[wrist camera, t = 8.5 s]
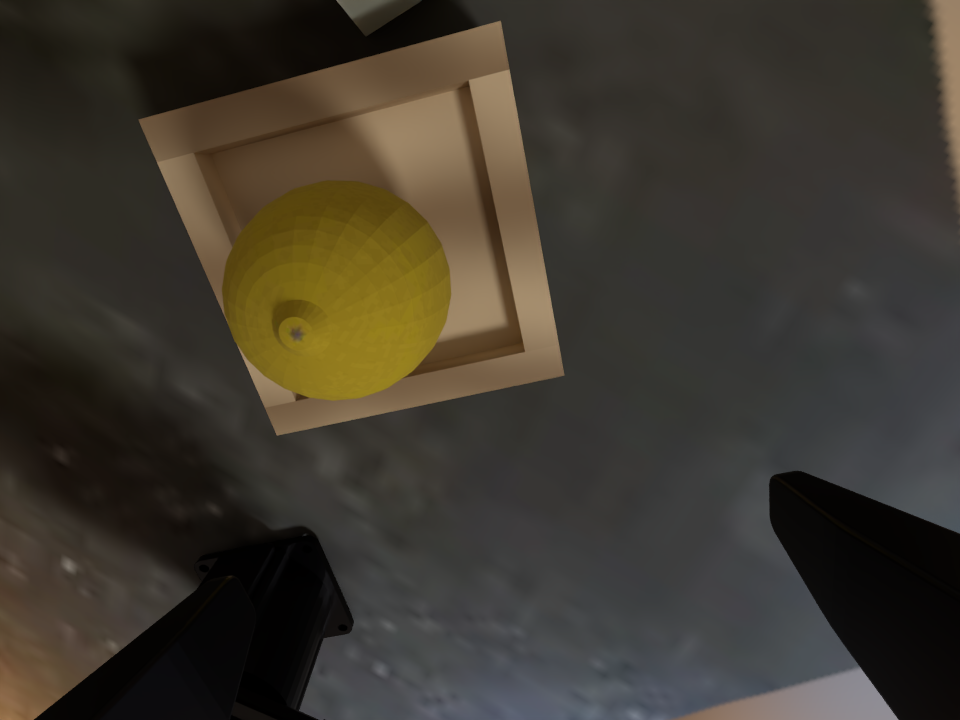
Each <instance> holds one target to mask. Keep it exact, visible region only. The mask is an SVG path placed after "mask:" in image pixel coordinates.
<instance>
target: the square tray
mask: <svg viewBox="0 0 960 720" xmlns="http://www.w3.org/2000/svg"><path fill="white" fill-rule="evenodd" d="M139 122H140V125H141V127H142V129H143V131H144V134H145V136H146V138H147V141H148V143H149V145H150V147H151V150H152V152H153V154H154V156H155V159H156V161H157V163H158V166H159V168H160V170H161V172H162V175H163V177H164V179H165V181H166V184H167V186H168V188H169V191H170V193H171V195H172V197H173V200H174V202H175V204H176V207H177V209H178V211H179V213H180V216H181V218H182V220H183V222H184V225H185V227H186V229H187V232H188V234H189V236H190V238H191V241H192V243H193V245H194V247H195V250H196V252H197V254H198V257H199V259H200V261H201V263H202V266H203V268H204V270H205V273H206V275H207V277H208V279H209V282H210V284H211V286H212V288H213V291H214V293H215V295H216V298H217V300H218V302H219V304H220V307H221V309H222V311H223V313H224V305H223V296H222V284H223V278H224V271H225V265H226V261H227V258H228V256H229V254H230V252H231V250H232V248H233V245H234V243H235V241H236V239H237V237H238V235H239V234H240V232H241V231H242V230H243V229H244V228H245V226H246V225H247V224H248V223H249V222H250V221H251V220H252V219H253V218H254V216H255V215H256V214H257V213H258V212H259V211H260V210H261V209H262V208H263V207H264V206H266V205H267V204H269V203H270V202H272V201H274V200H275V199H277V198H279V197H280V196H282V195H284V194H285V193H287V192H288V191H290V190H292V189H294V188H298V187H302V186H306V185H309V184H313V183H317V182H321V181H326V180H331V181H359V182H362V183H366V184H369V185H373V186H376V187H379V188H383V189H386V190H387V191H389V192H391V193H393V194H394V195H396V196H398V197H399V198H401V199H403V200H404V201H406V202H408V203H409V204H410V205H411V206H412V207H413V208H414V209H415V210H416V211H417V212H418V213H419V214H421V215H422V216H423V217H424V218H425V219H426V220H427V221H428V223H429V224H430V226H431V227H432V229H433V231H434V232H435V234H436V235H437V237H438V239H439V240H440V242H441V243H442V246H443V249H444V252H445V256H446V259H447V262H448V265H449V268H450V281H451V299H450V305H449V310H448V315H447V320H446V323H445V326H444V328H443V330H442V332H441V334H440V336H439V338H438V340H437V342H436V344H435V346H434V347H433V349H432V350H431V351H430V353H429V354H428V355H427V356H426V357H425V358H424V359H423V360H422V362H421V363H420V364H419V365H418V366H417V367H416V368H415V369H414V370H413V371H412V372H411V373H409V374H408V375H407V376H405V377H404V378H402V379H401V380H399V381H398V382H396V383H395V384H393V385H392V386H390V387H389V388H387V389H385V390H382V391H379V392H376V393H374V394H371V395H368V396H365V397H362V398H357V399H347V400H336V401H331V400H323V399H316V398H309V397H306V396H303V395H300V394H298V393H295V392H292V391H289V390H287V389H284V388H283V387H281V386H279V385H278V384H276V383H275V382H273V381H271V380H270V379H268V378H267V377H265V376H264V375H263V374H262V373H261V372H260V371H259V370H257V369H256V368H255V367H254V366H253V365H252V364H251V363H250V362H249V361H248V360H247V359H246V357H245V356H244V354H243V353H242V351H241V350H240V348H239V347H238V348H239V350H240V352H241V354H242V357H243V359H244V361H245V364H246V366H247V368H248V370H249V373H250V375H251V377H252V379H253V382H254V384H255V386H256V389H257V391H258V393H259V395H260V398H261V400H262V402H263V404H264V407H265V409H266V411H267V414H268V416H269V418H270V420H271V423H272V425H273V427H274V429H275V432H276V434H277V435H282V434H287V433H291V432H296V431H301V430H306V429H311V428H315V427H320V426H325V425H330V424H334V423H339V422H344V421H349V420H354V419H358V418H363V417H368V416H373V415H377V414H382V413H387V412H392V411H397V410H401V409H406V408H411V407H416V406H421V405H425V404H430V403H435V402H440V401H444V400H449V399H454V398H459V397H464V396H468V395H473V394H478V393H483V392H488V391H492V390H497V389H502V388H507V387H511V386H516V385H521V384H526V383H531V382H535V381H540V380H545V379H550V378H555V377H559V376H564V371H563V365H562V360H561V354H560V349H559V343H558V337H557V332H556V326H555V321H554V315H553V310H552V304H551V299H550V293H549V287H548V282H547V276H546V271H545V265H544V260H543V254H542V248H541V243H540V237H539V232H538V226H537V221H536V215H535V210H534V204H533V198H532V193H531V187H530V182H529V176H528V171H527V165H526V159H525V154H524V148H523V143H522V137H521V132H520V126H519V121H518V115H517V109H516V104H515V98H514V93H513V87H512V82H511V76H510V70H509V65H508V59H507V54H506V48H505V43H504V37H503V32H502V26H501V21H499V22H495V23H491V24H488V25H484V26H480V27H477V28H473V29H469V30H466V31H462V32H458V33H455V34H451V35H447V36H444V37H440V38H436V39H433V40H429V41H425V42H422V43H418V44H414V45H411V46H407V47H403V48H400V49H396V50H392V51H389V52H385V53H381V54H378V55H374V56H370V57H367V58H363V59H359V60H356V61H352V62H348V63H345V64H341V65H337V66H334V67H330V68H326V69H322V70H319V71H315V72H311V73H308V74H304V75H300V76H297V77H293V78H289V79H286V80H282V81H278V82H275V83H271V84H267V85H264V86H260V87H256V88H253V89H249V90H245V91H242V92H238V93H234V94H231V95H227V96H223V97H220V98H216V99H212V100H209V101H205V102H201V103H198V104H194V105H190V106H187V107H183V108H179V109H176V110H172V111H168V112H165V113H161V114H157V115H154V116H150V117H146V118H143V119H139ZM224 316H225V314H224ZM225 318H226V317H225ZM227 323H228V322H227Z"/></svg>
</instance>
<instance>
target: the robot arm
mask: <svg viewBox="0 0 960 720" xmlns="http://www.w3.org/2000/svg"><path fill="white" fill-rule="evenodd" d="M769 504H770V521H771V524H772V527H773V530H774V532H775V534H776V535H777V537H778V539H779V540H780V542H781V544H782V545H783V547H784V549H785V550H786V552H787V554H788V555H789V557H790V559H791V561H792V562H793V564H794V566H795V567H796V569H797V571H798V572H799V574H800V576H801V577H802V579H803V581H804V583H805V584H806V586H807V588H808V589H809V591H810V593H811V594H812V596H813V598H814V599H815V601H816V603H817V604H818V606H819V608H820V610H821V611H822V613H823V614H824V616H825V618H826V619H827V621H828V622H829V624H830V626H831V627H832V628H833V630H834V631H835V633H836V634H837V636H838V637H839V638H840V640H841V641H842V643H843V644H844V646H845V647H846V648H847V650H848V651H849V652H850V654H851V655H852V656H853V658H854V659H855V661H856V662H857V663H858V665H859V666H860V667H861V669H862V670H863V672H864V673H865V674H866V676H867V677H868V678H869V680H870V681H871V682H872V684H873V685H874V687H875V688H876V689H877V691H878V692H879V693H880V695H881V696H882V697H883V699H884V700H885V702H886V703H887V704H888V705H889V707H890V709H891V710H892V711H893V713H894V714H895V715H896V717H897V718H898V719H899V720H960V534H959V533H957V532H954V531H952V530H949V529H947V528H944V527H942V526H939V525H937V524H934V523H932V522H929V521H926V520H924V519H921V518H919V517H916V516H914V515H911V514H909V513H906V512H904V511H901V510H899V509H896V508H894V507H891V506H888V505H886V504H883V503H881V502H878V501H876V500H873V499H871V498H868V497H866V496H863V495H861V494H858V493H855V492H853V491H850V490H848V489H845V488H843V487H840V486H838V485H835V484H833V483H830V482H828V481H825V480H823V479H820V478H817V477H815V476H812V475H810V474H807V473H805V472H802V471H791V472H786V473H781V474H776V475H774V476H772V477H771V479H770V483H769ZM305 545H308V546H310V547H306V546H305ZM194 569H195V571H196V573H197V575H198V576H199V578H200V580H201V581H202V582H201V584H200V585H199V587H198V588H197V590H196V591H194V592H193V593H192V594H191V595H189V596H188V597H187V598H186V599H184V600H183V601H182V602H181V603H179V604H178V605H177V606H176V607H174V608H173V609H172V610H171V611H169V612H168V613H167V614H166V615H164V616H163V617H162V618H161V619H159V620H158V621H157V622H156V623H154V624H153V625H152V626H151V627H149V628H148V629H147V630H146V631H144V632H143V633H142V634H141V635H139V636H138V637H137V638H136V639H134V640H133V641H132V642H131V643H129V644H128V645H127V646H126V647H124V648H123V649H122V650H121V651H119V652H118V653H117V654H116V655H114V656H113V657H112V658H110V659H109V660H108V661H107V662H105V663H104V664H103V665H102V666H100V667H99V668H98V669H97V670H95V671H94V672H93V673H92V674H90V675H89V676H88V677H87V678H85V679H84V680H83V681H82V682H80V683H79V684H78V685H77V686H75V687H74V688H73V689H72V690H70V691H69V692H68V693H67V694H65V695H64V696H63V697H62V698H60V699H59V700H58V701H57V702H55V703H54V704H53V705H52V706H50V707H49V708H48V709H47V710H45V711H44V712H43V713H42V714H40V715H39V716H38V717H37V718H35V719H34V720H318V719H316V718H314V717H312V716H309V715H307V714H305V713H303V712H300V711H299V709H300V706H301V703H302V700H303V697H304V694H305V691H306V688H307V685H308V683H309V680H310V677H311V674H312V671H313V668H314V665H315V662H316V659H317V656H318V653H319V650H320V647H321V644H322V641H323V638H327V637H333V636H339V635H344V634H348V633H350V632H351V630H352V627H353V624H354V620H353V618H352V615H351V613H350V611H349V609H348V606H347V604H346V602H345V600H344V597H343V595H342V593H341V591H340V588H339V586H338V584H337V582H336V579H335V577H334V575H333V573H332V570H331V568H330V566H329V564H328V561H327V559H326V557H325V555H324V552H323V550H322V548H321V546H320V543H319V541H318V540H317V539H316V538H315V537H312V536H302V537H297V538H292V539H287V540H281V541H276V542H271V543H264V544H259V545H254V546H248V547H243V548H238V549H233V550H227V551H223V552H218V553H213V554H208V555H203V556H201V557H200V558H199V559H198V561H197V562H196V563H195V565H194ZM324 720H325V719H324Z"/></svg>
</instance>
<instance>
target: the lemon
mask: <svg viewBox="0 0 960 720" xmlns="http://www.w3.org/2000/svg"><path fill="white" fill-rule="evenodd" d="M222 296H223V305H224V314H225V317H226V320H227V322H228V325H229V328H230V330H231V333H232V336H233V338H234V341H235V342H236V344H237V345H238V347H239V348H240V350H241V351H242V353H243V354H244V356H245V357H246V359H247V360H248V361H249V362H250V363H251V364H252V365H253V366H254V367H255V368H256V369H257V370H259V371H260V372H261V373H262V374H263V375H264V376H265V377H267V378H268V379H270V380H271V381H273V382H275V383H276V384H278V385H279V386H281V387H283V388H284V389H287V390H289V391H292V392H295V393H298V394H300V395H303V396H306V397H309V398H316V399H323V400H331V401H336V400H347V399H357V398H362V397H365V396H368V395H371V394H374V393H376V392H379V391H382V390H385V389H387V388H389V387H390V386H392V385H393V384H395V383H396V382H398V381H399V380H401V379H402V378H404V377H405V376H407V375H408V374H409V373H411V372H412V371H413V370H414V369H415V368H416V367H417V366H418V365H419V364H420V363H421V362H422V360H423V359H424V358H425V357H426V356H427V355H428V354H429V353H430V351H431V350H432V349H433V347H434V346H435V344H436V342H437V340H438V338H439V336H440V334H441V332H442V330H443V328H444V326H445V323H446V320H447V315H448V310H449V305H450V299H451V281H450V268H449V265H448V262H447V259H446V256H445V252H444V249H443V246H442V243H441V242H440V240H439V239H438V237H437V235H436V234H435V232H434V231H433V229H432V227H431V226H430V224H429V223H428V221H427V220H426V219H425V218H424V217H423V216H422V215H421V214H419V213H418V212H417V211H416V210H415V209H414V208H413V207H412V206H411V205H410V204H409V203H408V202H406V201H404V200H403V199H401V198H399V197H398V196H396V195H394V194H393V193H391V192H389V191H387V190H386V189H383V188H379V187H376V186H373V185H369V184H366V183H362V182H359V181H331V180H326V181H321V182H317V183H313V184H309V185H306V186H302V187H298V188H294V189H292V190H290V191H288V192H287V193H285V194H284V195H282V196H280V197H279V198H277V199H275V200H274V201H272V202H270V203H269V204H267V205H266V206H264V207H263V208H262V209H261V210H260V211H259V212H258V213H257V214H256V215H255V216H254V218H253V219H252V220H251V221H250V222H249V223H248V224H247V225H246V226H245V228H244V229H243V230H242V231H241V232H240V234H239V235H238V237H237V239H236V241H235V243H234V245H233V248H232V250H231V252H230V254H229V256H228V258H227V261H226V265H225V271H224V278H223V284H222Z"/></svg>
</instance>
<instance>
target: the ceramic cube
mask: <svg viewBox="0 0 960 720" xmlns="http://www.w3.org/2000/svg"><path fill="white" fill-rule="evenodd" d="M336 1H337V2H338V3H339V4H340V6H341V7H342V8H343V9H344V10H345V12H346V13H347V14H348V15H349V17H350V18H351V19H352V20H353V22H354V23H355V24H356V25H357V27H358V28H359V29H360V30H361V31H362V33H363V34H364V35H365V36H368V35H369V34H371V33H372V32H374V31H376V30H377V29H379V28H380V27H382V26H383V25H385V24H386V23H388V22H390V21H391V20H393V19H394V18H396V17H397V16H399V15H400V14H402V13H404V12H405V11H407V10H408V9H410V8H411V7H413V6H414V5H416V4H418V3H419V2H421V1H422V0H336Z"/></svg>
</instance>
